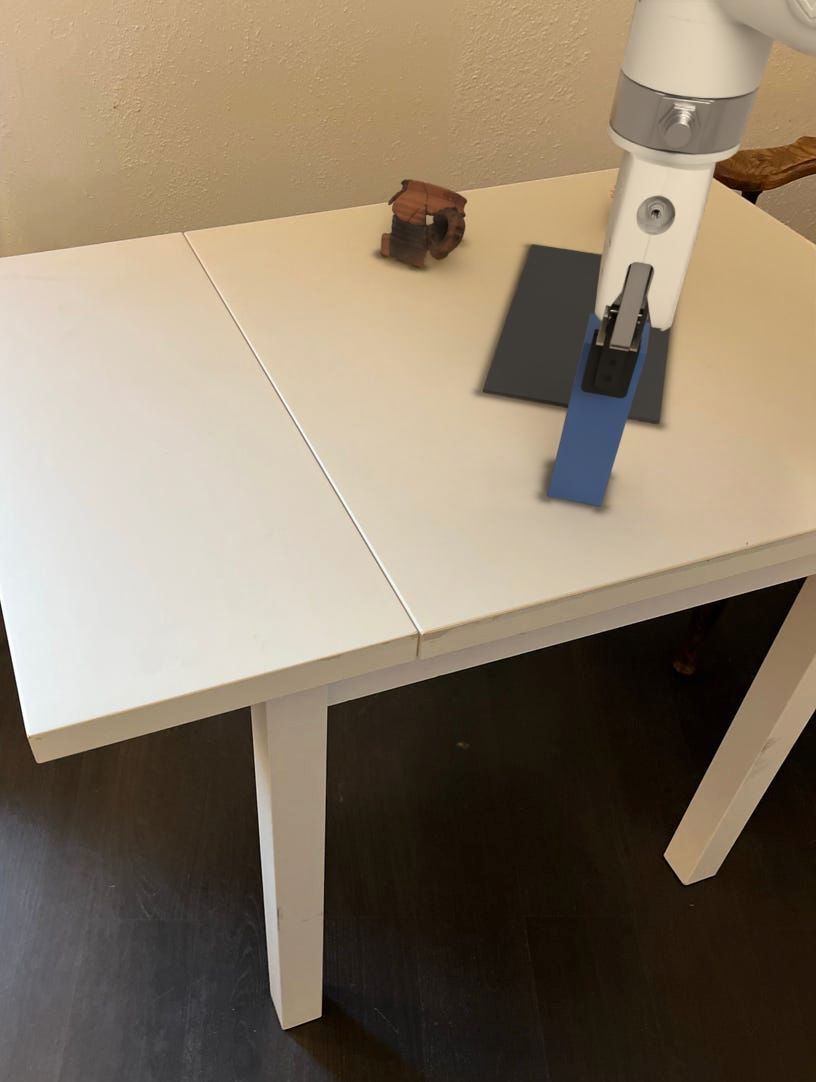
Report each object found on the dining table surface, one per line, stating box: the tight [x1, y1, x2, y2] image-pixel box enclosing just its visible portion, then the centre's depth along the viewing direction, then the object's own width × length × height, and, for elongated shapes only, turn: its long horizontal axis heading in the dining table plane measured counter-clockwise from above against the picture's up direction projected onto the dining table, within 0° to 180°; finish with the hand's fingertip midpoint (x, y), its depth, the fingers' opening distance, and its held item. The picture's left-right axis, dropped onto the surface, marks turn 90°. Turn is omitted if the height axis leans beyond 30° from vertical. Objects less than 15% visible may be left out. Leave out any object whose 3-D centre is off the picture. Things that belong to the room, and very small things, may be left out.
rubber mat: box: [482, 243, 671, 425], centre depth 96 cm, size 16×30×1 cm, turn 164°
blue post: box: [546, 313, 650, 508], centre depth 74 cm, size 4×4×14 cm
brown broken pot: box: [380, 178, 468, 269], centre depth 104 cm, size 12×10×8 cm
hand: (603, 388), depth 68 cm, fingers closed
